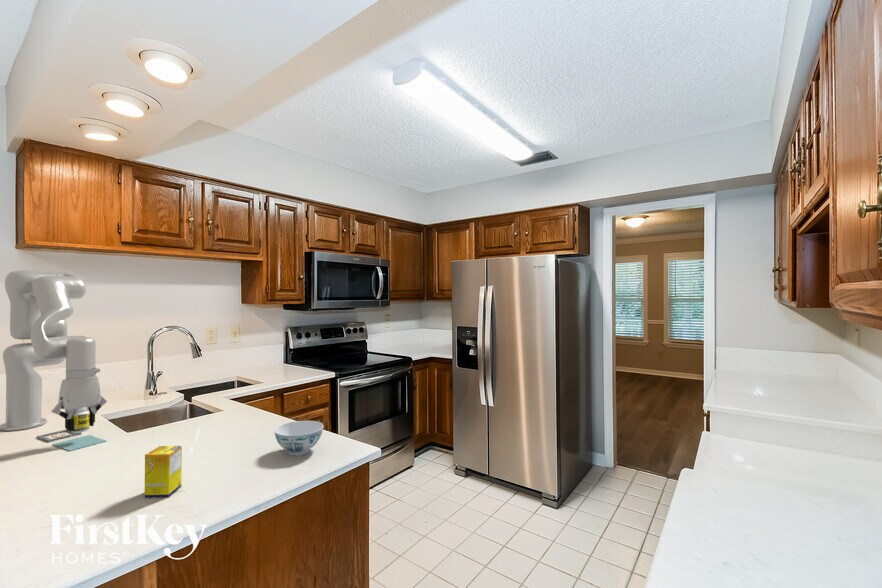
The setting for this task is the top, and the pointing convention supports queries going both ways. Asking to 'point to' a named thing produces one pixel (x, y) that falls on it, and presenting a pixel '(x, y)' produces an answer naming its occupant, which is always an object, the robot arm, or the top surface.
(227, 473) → the top surface
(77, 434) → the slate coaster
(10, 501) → the top surface
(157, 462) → the supplement box
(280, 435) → the chinaware
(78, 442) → the teal mat
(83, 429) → the supplement bottle
